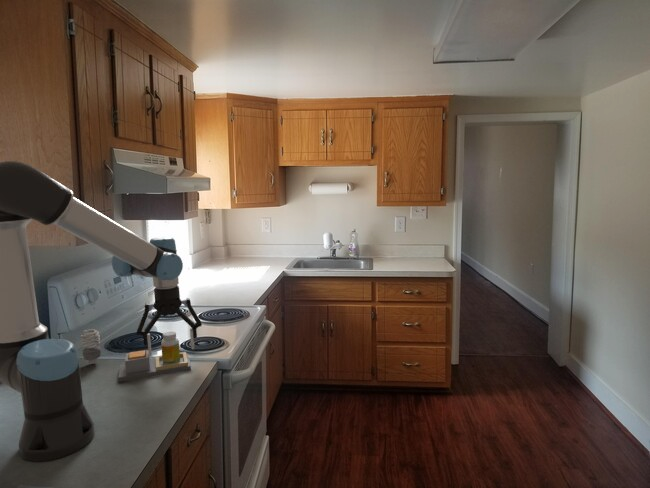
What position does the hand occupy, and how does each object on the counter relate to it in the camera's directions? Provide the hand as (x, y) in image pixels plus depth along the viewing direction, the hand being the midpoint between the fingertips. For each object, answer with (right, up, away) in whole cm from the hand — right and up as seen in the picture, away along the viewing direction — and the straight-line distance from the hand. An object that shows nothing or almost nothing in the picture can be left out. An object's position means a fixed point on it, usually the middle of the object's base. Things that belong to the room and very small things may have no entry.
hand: (171, 351), depth 146 cm
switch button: (-9, -3, -3) cm, 11 cm away
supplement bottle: (0, -4, 0) cm, 4 cm away
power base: (-5, -6, -1) cm, 7 cm away
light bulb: (-28, -6, +4) cm, 28 cm away
